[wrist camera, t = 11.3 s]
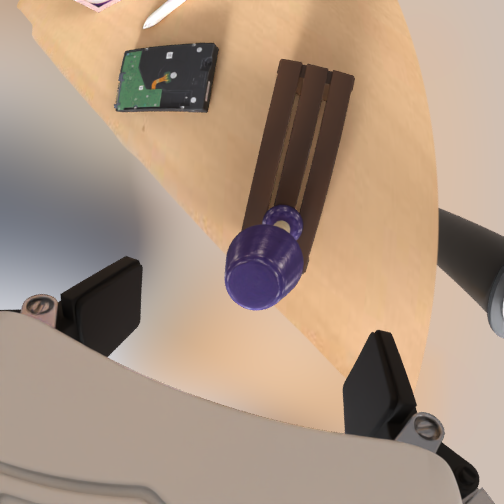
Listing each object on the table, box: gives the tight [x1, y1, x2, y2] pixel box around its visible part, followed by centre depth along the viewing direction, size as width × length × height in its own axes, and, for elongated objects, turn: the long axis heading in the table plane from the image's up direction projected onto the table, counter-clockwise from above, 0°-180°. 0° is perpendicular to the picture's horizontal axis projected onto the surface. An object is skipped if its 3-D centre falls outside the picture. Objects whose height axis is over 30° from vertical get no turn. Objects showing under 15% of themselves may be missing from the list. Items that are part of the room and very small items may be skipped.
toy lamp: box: [225, 205, 304, 310], centre depth 22 cm, size 5×5×17 cm
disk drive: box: [114, 43, 219, 113], centre depth 34 cm, size 10×3×15 cm
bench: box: [242, 59, 355, 274], centre depth 32 cm, size 8×22×9 cm, turn 167°
